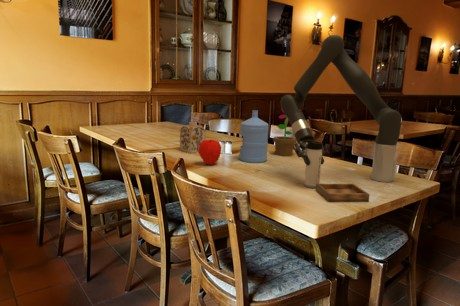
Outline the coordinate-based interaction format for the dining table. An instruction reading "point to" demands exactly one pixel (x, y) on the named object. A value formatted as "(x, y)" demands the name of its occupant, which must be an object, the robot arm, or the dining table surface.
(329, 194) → the tray
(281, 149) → the flowerpot
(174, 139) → the dining table surface
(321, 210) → the dining table surface
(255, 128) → the water jug
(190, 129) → the decorative jar
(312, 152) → the travel mug
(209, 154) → the apple
